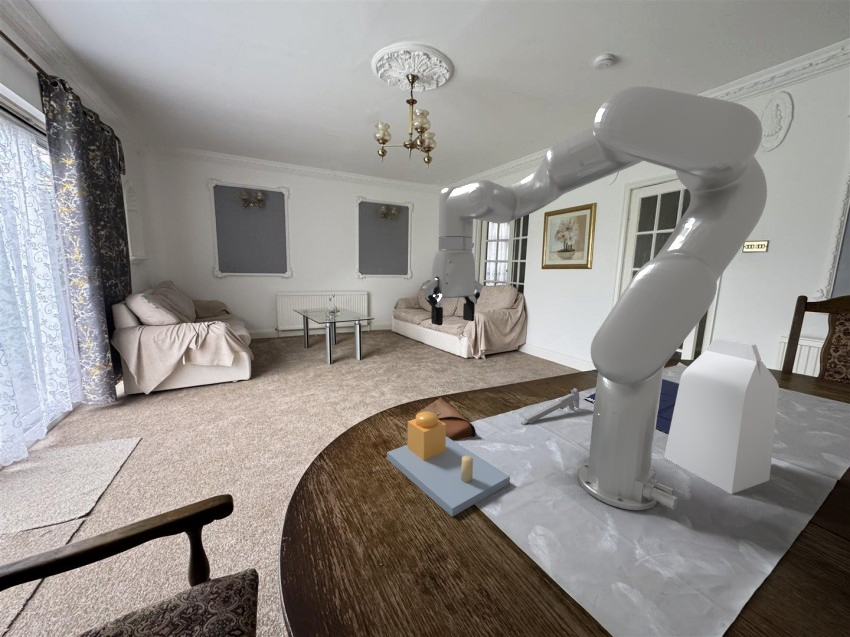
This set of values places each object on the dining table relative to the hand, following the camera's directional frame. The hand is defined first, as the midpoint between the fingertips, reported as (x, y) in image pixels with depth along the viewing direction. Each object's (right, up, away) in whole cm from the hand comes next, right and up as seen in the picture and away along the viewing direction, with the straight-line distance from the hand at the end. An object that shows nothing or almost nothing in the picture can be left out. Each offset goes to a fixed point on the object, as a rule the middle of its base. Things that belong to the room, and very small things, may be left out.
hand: (453, 322), depth 79 cm
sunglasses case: (-2, -26, +7) cm, 27 cm away
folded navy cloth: (+59, -25, +20) cm, 67 cm away
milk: (+51, -29, -10) cm, 60 cm away
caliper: (+27, -26, +12) cm, 39 cm away
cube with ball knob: (-6, -26, -8) cm, 28 cm away
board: (-3, -29, -12) cm, 31 cm away
